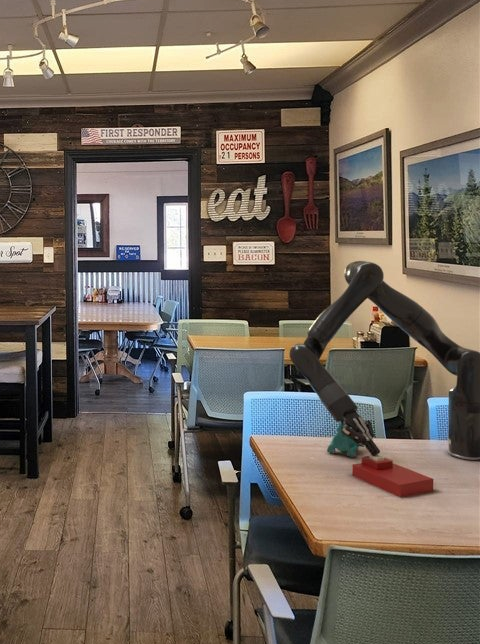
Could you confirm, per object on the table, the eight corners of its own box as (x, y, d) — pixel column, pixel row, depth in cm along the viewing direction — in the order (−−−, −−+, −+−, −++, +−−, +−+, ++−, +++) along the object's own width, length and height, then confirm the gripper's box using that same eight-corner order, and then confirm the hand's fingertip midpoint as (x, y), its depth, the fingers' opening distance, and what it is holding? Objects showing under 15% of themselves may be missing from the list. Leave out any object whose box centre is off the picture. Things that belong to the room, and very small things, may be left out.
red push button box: (384, 470, 176) (384, 453, 176) (433, 491, 162) (433, 471, 162) (352, 475, 172) (352, 457, 172) (399, 497, 157) (400, 477, 157)
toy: (352, 466, 184) (381, 440, 191) (332, 429, 185) (361, 405, 193) (328, 466, 193) (356, 441, 200) (308, 431, 194) (337, 408, 202)
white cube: (376, 463, 173) (376, 454, 173) (384, 466, 171) (384, 457, 171) (369, 464, 172) (369, 455, 172) (377, 467, 170) (377, 458, 170)
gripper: (332, 397, 175) (374, 451, 165) (357, 391, 183) (398, 443, 173) (316, 411, 180) (355, 465, 169) (341, 405, 188) (379, 456, 177)
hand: (377, 454), depth 171 cm, fingers closed
